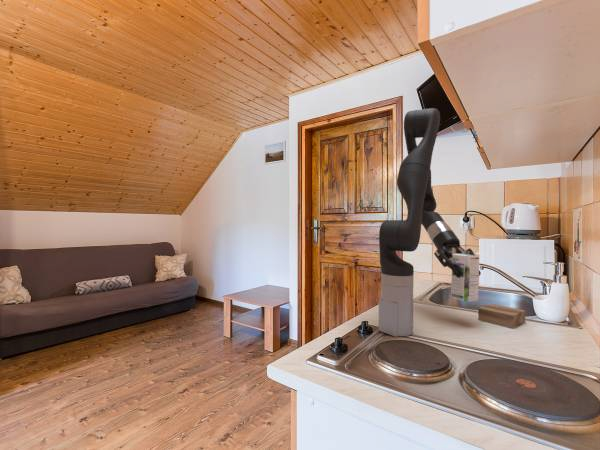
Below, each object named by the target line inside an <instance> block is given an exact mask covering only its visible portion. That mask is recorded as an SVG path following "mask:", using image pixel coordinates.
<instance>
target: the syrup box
mask: <svg viewBox="0 0 600 450" xmlns="http://www.w3.org/2000/svg"><path fill="white" fill-rule="evenodd" d="M452 255H453V256H454V260H455V261H456V264H457V265H458V267H459V268H460V270H461V271H462V272H463V275H462V276H461V277H460V278H457V276H456V275H455V274H454V273H453V271H452V270H451V290H450V291H451V292H450V298H451V299H453V300H454V299H455V300H456V301H457V300H458V301H461V302H465V303H470V302H476V301H479V281H480V280H479V279H480V278H479V277H480V275H479V271H480V255H477V254H476V255H469V254H452ZM456 264H455V265H456Z"/></svg>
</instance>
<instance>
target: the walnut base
mask: <svg viewBox="0 0 600 450" xmlns="http://www.w3.org/2000/svg"><path fill="white" fill-rule="evenodd" d="M477 309H478V313H477V314H478V316H477V317H478V319H477V320H478V321H482V322H484V323H485V322H486V323H490V324H493V325H497V326H501V327H505V328H508V329H515V328H517V327H519V326H521V325H523V324H525V323H526V310H525V309H518V308H514V307H509V306H505V305H500V304H496V303H489V304H486V305H484V306H481V307H478V308H477Z"/></svg>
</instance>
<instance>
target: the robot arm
mask: <svg viewBox="0 0 600 450" xmlns="http://www.w3.org/2000/svg"><path fill="white" fill-rule="evenodd" d="M440 123H441V114H440V111H439V110H438V109H437V108H434V107H431V108H423V109H414V110H413V109H412V110H409V111H407V112H406V114H405V116H404V120H403V132H404V139H405V144H406V150H407V151H406V152H407V155H406V157H405V158H404V159H403V160H402V162H401V164H400V166H399V170H398V174H397V180H396V186H397V188H398V191H399V193H400V195H401V196H402V198H403V200H404V202H405V204H406V209H407V217H406V219H398V220H397V219H393V220H392V219H389V220H387V219H386V220H384V221H383V222H382V223H381V225H380V226H379V227H380V228H379V232H378V245H379V265H380V270H381V271H380V273H381V274H380V275H381V276H380V278H381V279H380V298H379V299H378V331H380V332H382V333H385V334H387V335H390V336H392V337H395V338H397V337H408V336H411V335H413V333H414V277H415V276H414V275H415V273H414V269H415V268H414V266H413V264H412V263H410V262H407V261H406V260H404V259H402V258H401V257H399V255H398V254H397V252H407V253H408V252H415V251H416V250H417V249H418V247H419V243H420V240H421V239H420V238H421V234H422V233H421V232H422V226H423V228H424V230H425V231H426V232H427V234H428V237H429V239H430V240H431V242H432V243H433V245H434V247H436V248H435V249H436V250H435V251H434V253H433V254H434V256H435V258H437V260H438V261H439V262H440V264H441V265H442V266H443V268H447V267H448V268H449V269H450V270H451V272H452V271H453V273H454V274H455V275H456V276H457V278H460V277H461V276H462V275H463V272H462V271H461V270H460V268H459V267H458V265H457V264H456V261H455V260H454V256H453V255H452V254H469V255H475V253H474V250H472V248H468V249H464V248H463V247H462V246H461V241H460V239H459V238H458V236H457V235H456V233H455V232H454V231H453V229H452V228H451V227H450V226H449V224H448V223H447V222H446V221H445V220H444V219H443V217H442V216H441V215H440V213H439V212H437V211H436V208H437V201H436V198H435V194H434V192H433V188H432V170H431V165H432V158H433V153H434V147H435V144H436V140H437V136H438V133H439V130H440V129H439V127H440ZM418 138H419V139H421V138H422V139H421V140H420V142H419V143H418V145H417V140H416V139H418ZM455 264H456V265H455ZM479 276H481V271H480V270H479Z"/></svg>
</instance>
